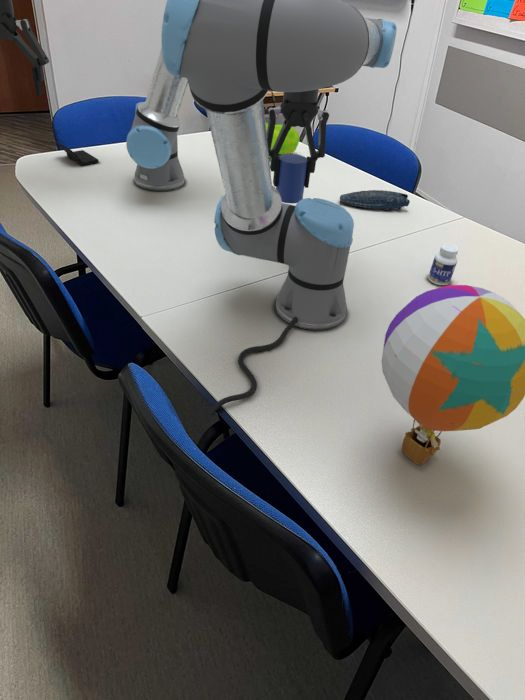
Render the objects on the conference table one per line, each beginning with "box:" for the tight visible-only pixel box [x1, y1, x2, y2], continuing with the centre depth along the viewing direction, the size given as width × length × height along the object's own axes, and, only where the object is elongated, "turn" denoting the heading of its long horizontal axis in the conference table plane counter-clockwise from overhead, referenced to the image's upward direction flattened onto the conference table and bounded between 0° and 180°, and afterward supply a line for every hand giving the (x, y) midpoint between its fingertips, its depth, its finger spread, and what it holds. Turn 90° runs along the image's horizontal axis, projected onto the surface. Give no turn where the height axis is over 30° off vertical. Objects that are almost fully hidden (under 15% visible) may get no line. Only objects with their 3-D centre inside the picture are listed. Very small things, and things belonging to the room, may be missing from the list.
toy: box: [381, 284, 525, 467], centre depth 73 cm, size 20×20×30 cm
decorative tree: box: [265, 121, 300, 159], centre depth 186 cm, size 18×10×30 cm
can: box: [275, 153, 308, 204], centre depth 125 cm, size 7×7×10 cm
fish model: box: [339, 189, 411, 211], centre depth 158 cm, size 7×21×5 cm, turn 84°
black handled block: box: [54, 140, 100, 166], centre depth 170 cm, size 12×7×10 cm
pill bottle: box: [427, 243, 459, 286], centre depth 124 cm, size 5×5×9 cm
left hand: (13, 92), depth 133 cm, fingers open, 13 cm apart
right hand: (290, 184), depth 126 cm, fingers closed on can, 7 cm apart
